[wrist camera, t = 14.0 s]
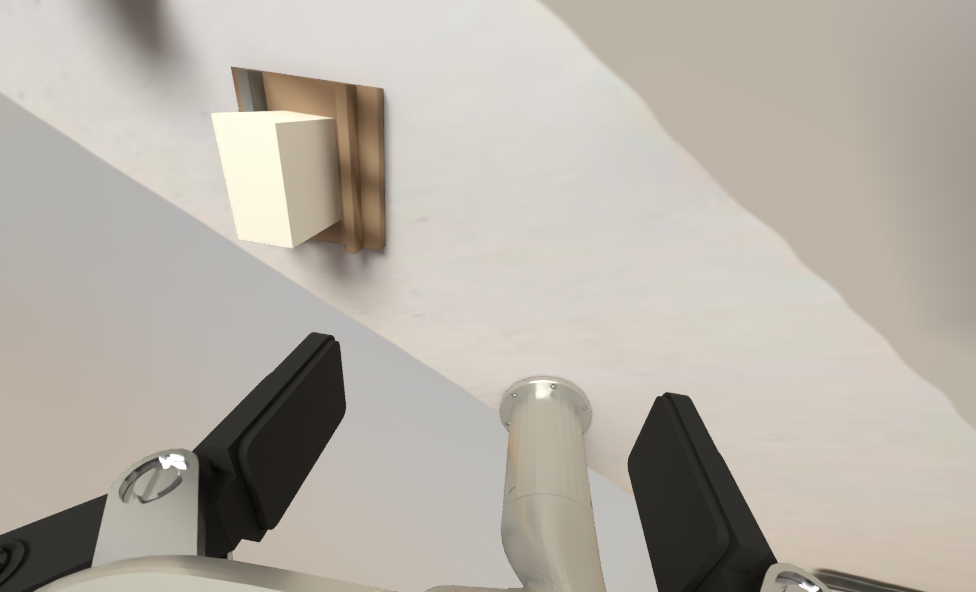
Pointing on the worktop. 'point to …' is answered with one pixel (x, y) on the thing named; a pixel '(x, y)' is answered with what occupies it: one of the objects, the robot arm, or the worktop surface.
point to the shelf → (354, 142)
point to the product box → (279, 174)
